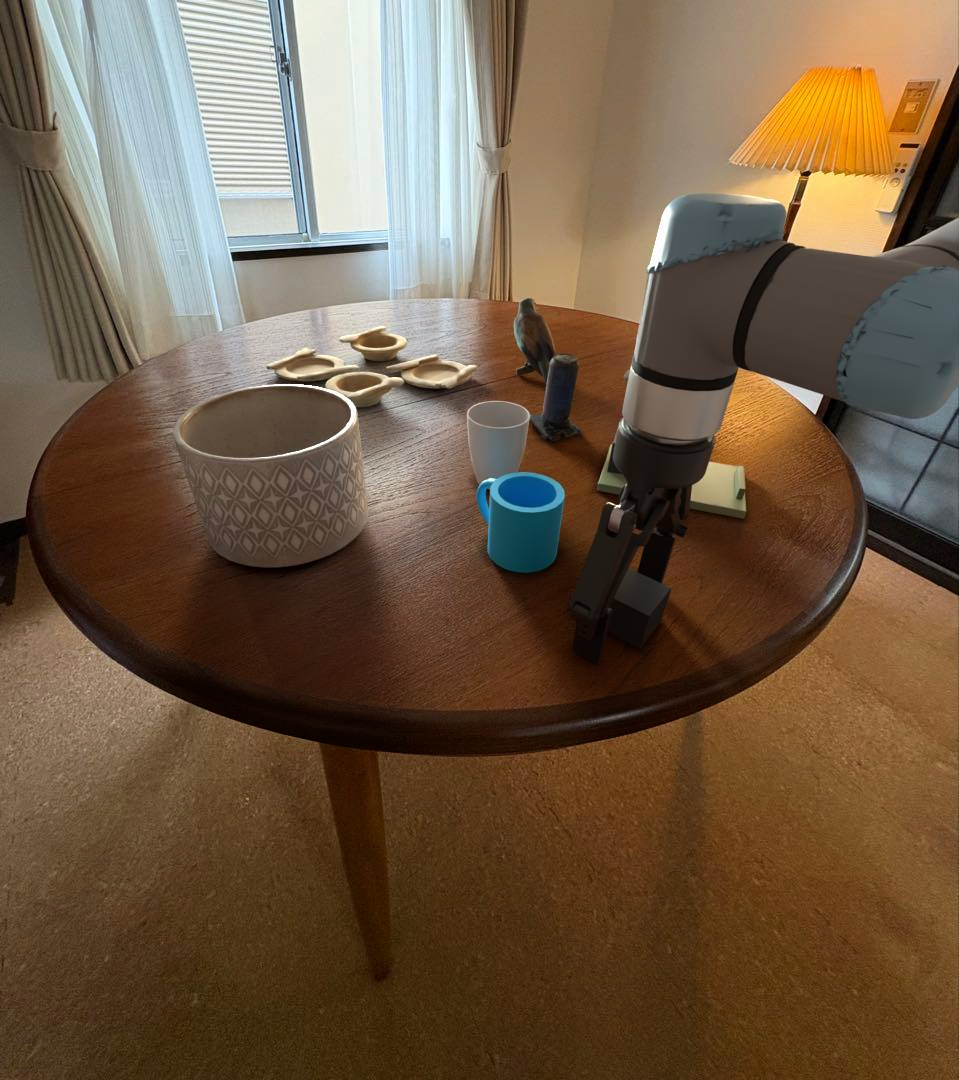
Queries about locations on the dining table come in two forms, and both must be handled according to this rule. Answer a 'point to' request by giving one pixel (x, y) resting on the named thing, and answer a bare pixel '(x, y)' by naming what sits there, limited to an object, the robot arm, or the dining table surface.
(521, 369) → the bird figurine
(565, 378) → the dark cylinder on base
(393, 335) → the tableware set
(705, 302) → the robot arm
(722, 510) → the dock
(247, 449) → the planter
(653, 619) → the dark grey block
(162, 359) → the dining table surface
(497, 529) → the mug
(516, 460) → the cup
